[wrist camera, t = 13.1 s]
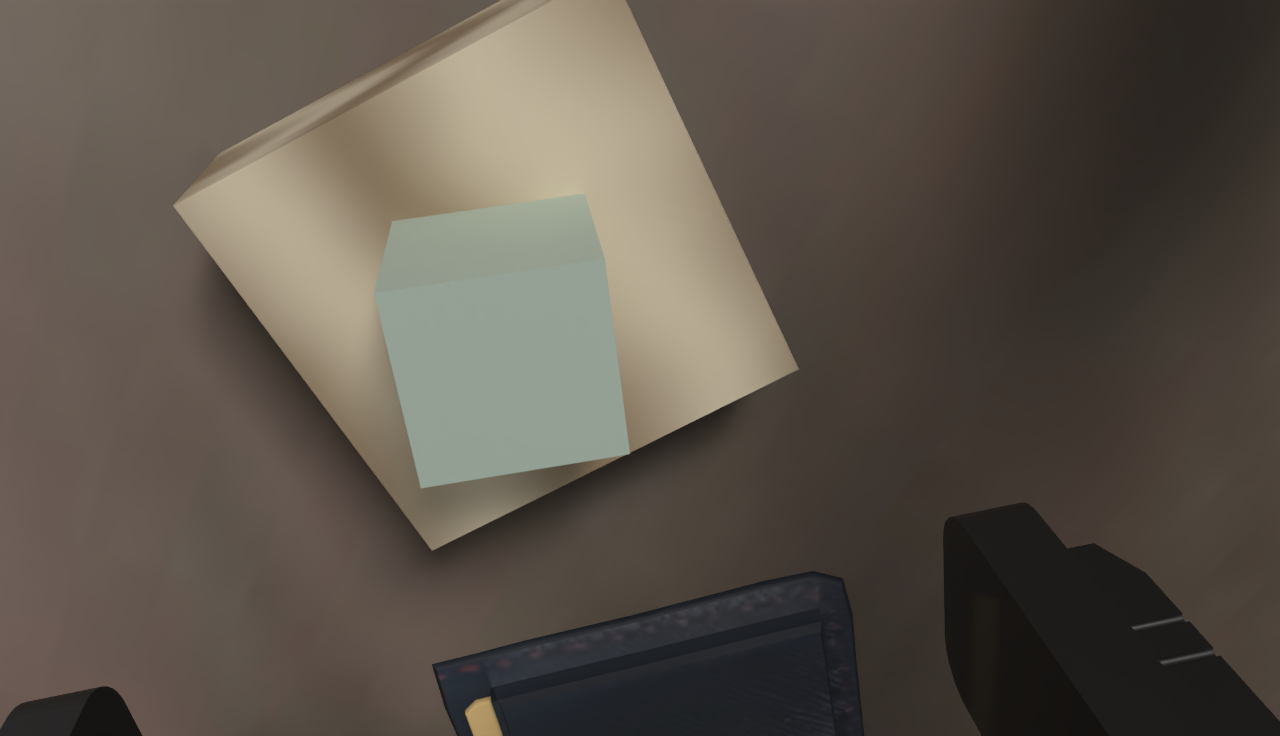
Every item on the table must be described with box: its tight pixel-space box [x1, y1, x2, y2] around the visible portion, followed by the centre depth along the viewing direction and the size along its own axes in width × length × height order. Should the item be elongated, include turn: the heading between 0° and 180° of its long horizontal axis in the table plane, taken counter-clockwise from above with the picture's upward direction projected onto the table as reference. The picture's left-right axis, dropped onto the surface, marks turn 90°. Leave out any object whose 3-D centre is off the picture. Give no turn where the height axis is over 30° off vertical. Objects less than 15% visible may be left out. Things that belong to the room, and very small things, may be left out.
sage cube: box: [374, 194, 630, 488], centre depth 23 cm, size 4×4×4 cm
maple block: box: [173, 0, 798, 551], centre depth 27 cm, size 11×11×5 cm
